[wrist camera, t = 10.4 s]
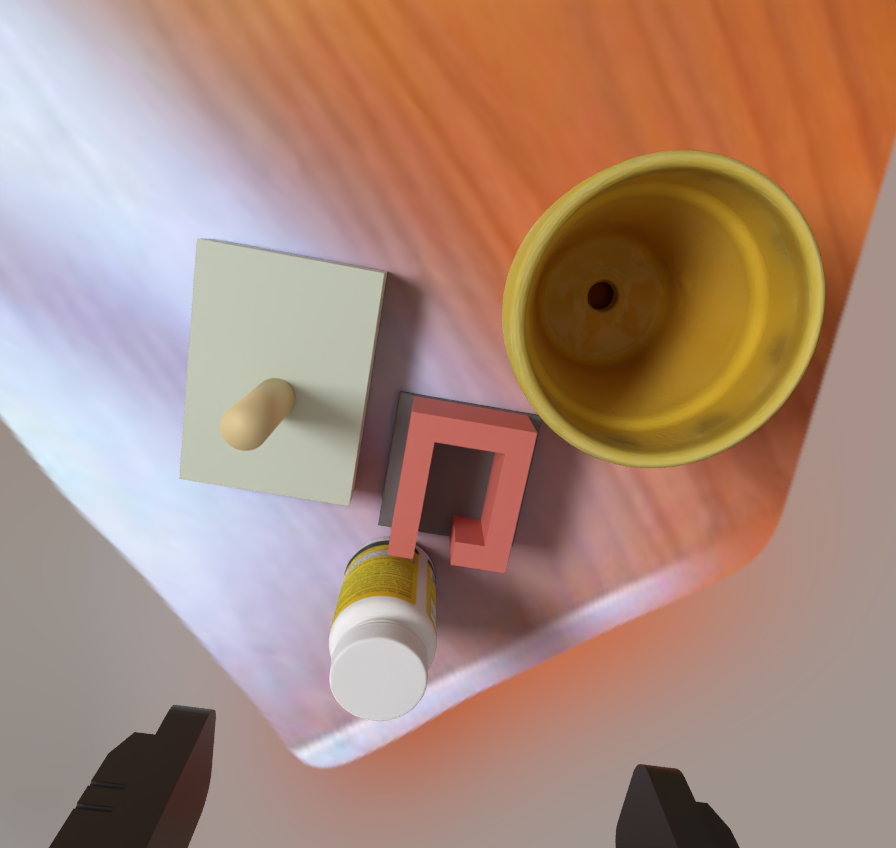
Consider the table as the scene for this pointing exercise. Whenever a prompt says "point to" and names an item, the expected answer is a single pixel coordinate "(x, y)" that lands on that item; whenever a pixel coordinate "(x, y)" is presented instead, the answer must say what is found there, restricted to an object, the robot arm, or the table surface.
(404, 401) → the coaster
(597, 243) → the plant pot
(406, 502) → the c link
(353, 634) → the supplement bottle
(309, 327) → the stand
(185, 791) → the robot arm
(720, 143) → the table surface
